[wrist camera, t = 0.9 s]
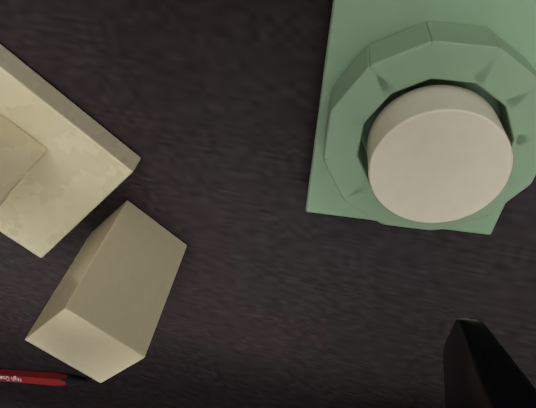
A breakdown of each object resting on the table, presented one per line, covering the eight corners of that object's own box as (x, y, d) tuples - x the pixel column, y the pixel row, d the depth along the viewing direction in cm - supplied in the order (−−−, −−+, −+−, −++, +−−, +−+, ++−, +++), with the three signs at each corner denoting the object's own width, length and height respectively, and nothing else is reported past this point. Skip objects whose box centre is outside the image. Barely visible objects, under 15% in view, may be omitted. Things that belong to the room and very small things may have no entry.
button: (475, 200, 18) (486, 231, 17) (357, 186, 18) (357, 215, 17) (520, 91, 15) (537, 118, 14) (380, 76, 16) (383, 101, 14)
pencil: (95, 379, 37) (89, 391, 36) (-67, 366, 39) (-76, 377, 38) (91, 372, 36) (85, 384, 36) (-73, 359, 38) (-82, 371, 38)
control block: (482, 210, 22) (500, 266, 19) (308, 189, 23) (302, 240, 20) (584, -24, 16) (632, 9, 13) (338, -46, 16) (336, -18, 14)
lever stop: (187, 245, 26) (145, 358, 21) (149, 273, 28) (100, 383, 23) (127, 199, 25) (64, 308, 19) (91, 232, 26) (24, 339, 21)
